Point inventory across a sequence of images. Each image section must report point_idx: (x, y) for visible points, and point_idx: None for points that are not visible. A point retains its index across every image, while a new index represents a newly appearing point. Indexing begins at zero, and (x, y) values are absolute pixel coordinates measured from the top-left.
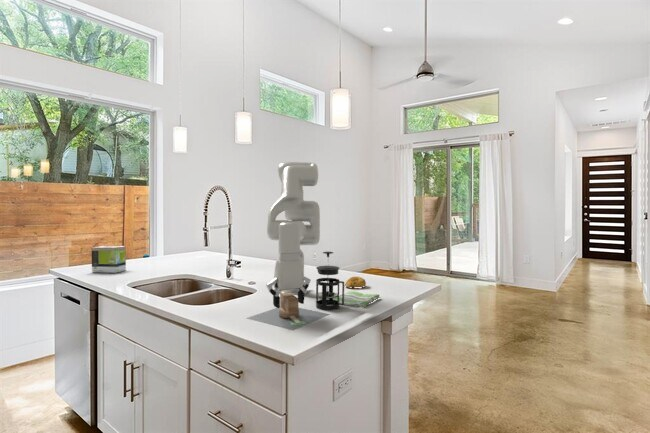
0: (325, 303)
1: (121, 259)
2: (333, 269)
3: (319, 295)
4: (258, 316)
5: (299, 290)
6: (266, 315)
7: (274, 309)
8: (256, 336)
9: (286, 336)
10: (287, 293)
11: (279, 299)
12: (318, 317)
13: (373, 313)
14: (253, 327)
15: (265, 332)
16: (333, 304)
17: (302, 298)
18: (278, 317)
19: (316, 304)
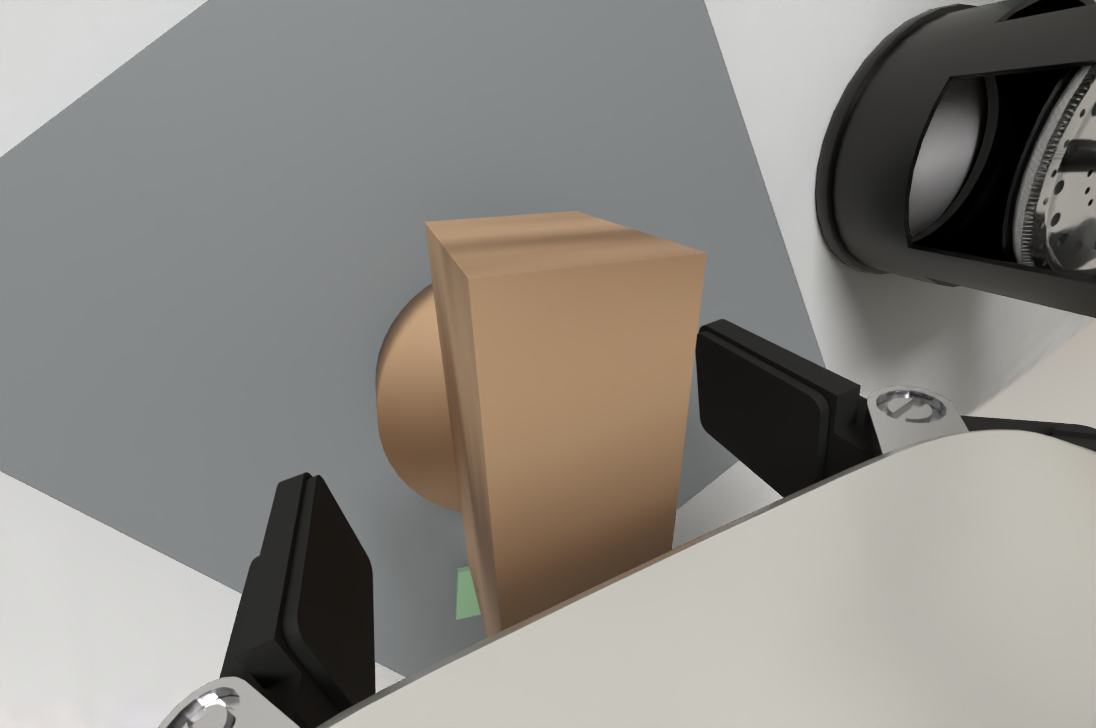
0: (942, 277)
1: None
2: None
3: (1046, 186)
4: (28, 301)
5: (856, 456)
6: (183, 284)
7: None
8: (111, 711)
9: (384, 685)
10: (623, 367)
11: (366, 691)
12: (720, 451)
13: (1050, 329)
14: (27, 515)
15: (202, 632)
16: (1041, 82)
17: (756, 464)
18: (363, 401)
19: (900, 142)
